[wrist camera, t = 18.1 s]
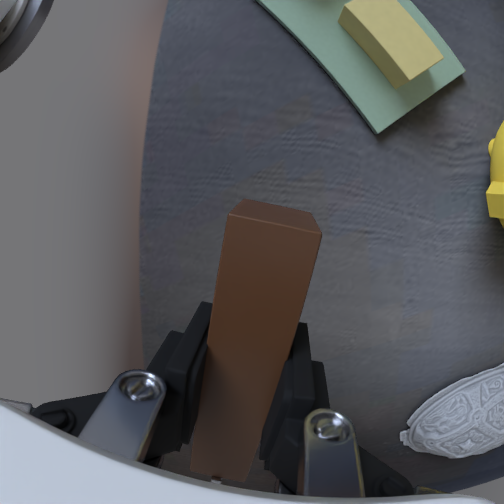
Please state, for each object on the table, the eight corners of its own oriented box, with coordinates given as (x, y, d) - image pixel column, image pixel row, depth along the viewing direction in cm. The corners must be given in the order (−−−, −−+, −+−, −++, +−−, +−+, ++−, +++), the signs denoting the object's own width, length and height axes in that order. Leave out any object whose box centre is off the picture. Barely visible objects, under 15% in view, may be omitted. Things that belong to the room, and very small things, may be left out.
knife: (243, 198, 10) (226, 214, 7) (311, 212, 10) (324, 235, 7) (190, 512, 16) (181, 547, 13) (221, 519, 16) (214, 554, 13)
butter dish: (246, -8, 20) (245, -12, 19) (342, -57, 17) (343, -61, 16) (374, 134, 22) (377, 134, 21) (461, 73, 20) (466, 71, 19)
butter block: (336, 21, 19) (343, 4, 16) (372, 2, 18) (382, -15, 15) (394, 89, 20) (409, 81, 17) (427, 67, 19) (445, 57, 16)
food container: (523, 429, 29) (540, 453, 23) (386, 459, 33) (394, 495, 26) (558, 342, 26) (584, 361, 20) (413, 363, 30) (433, 397, 23)
